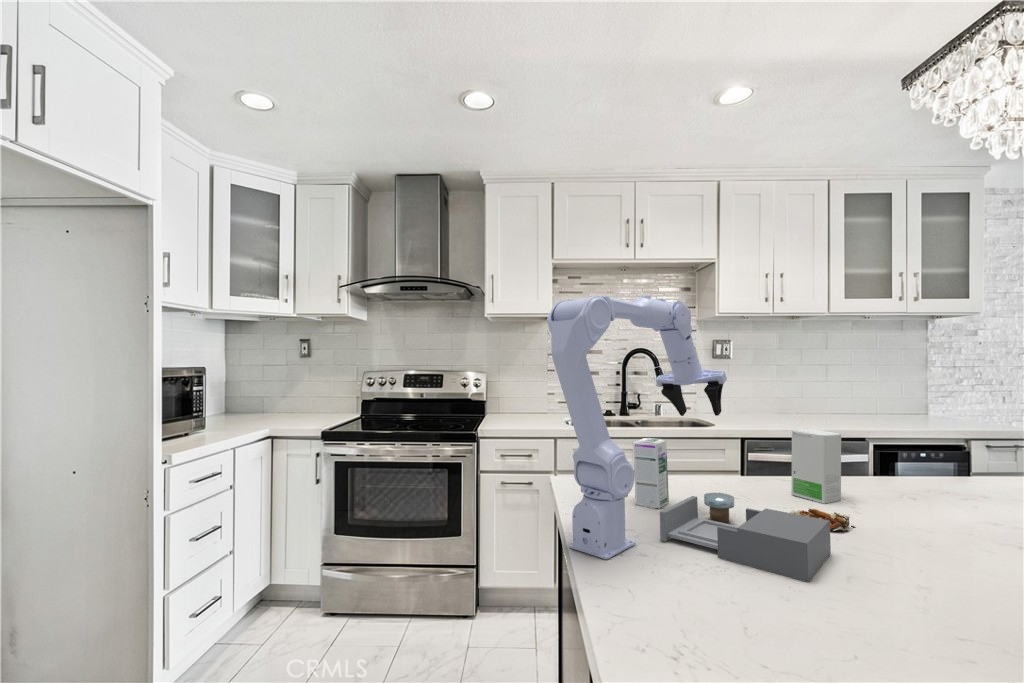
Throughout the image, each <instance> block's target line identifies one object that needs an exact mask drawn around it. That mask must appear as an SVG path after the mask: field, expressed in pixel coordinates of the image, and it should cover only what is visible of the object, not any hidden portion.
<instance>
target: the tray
mask: <svg viewBox="0 0 1024 683" xmlns="http://www.w3.org/2000/svg"><path fill="white" fill-rule="evenodd" d="M698 508H699V507H698V496H693V495H692V496H690V497H687V498H686V499H685V498H684V499H683V500H681V501H679V502H677V503H675V504H673V505H670V506H669V507H667V508H664V509H663V510H660V511H659V533H660V534H659V535H660V536H659V538H660V540H662V541H664V542H666V541H668V540H669V539H671V538H672V539H676V540H680V541H683V542H688V543H692V544H695V545H699V546H703V547H707V548H711V549H714V550H718V536H717V527H718V526H721V527H726V528H730V529H735V530H737V528H738V527H739V525H734V524H730V523H729V524H725V523H721V522H716V521H712V520H710V519H706V518H703V517H700V518H699V515H698V514H699V513H698V512H699V510H698Z"/></svg>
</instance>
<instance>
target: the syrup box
mask: <svg viewBox="0 0 1024 683" xmlns="http://www.w3.org/2000/svg"><path fill="white" fill-rule="evenodd" d="M632 445H633V464H634V465H633V466H634V467H633V470H634V494H635V495H634V496H635V505H636V506H639V505H641V506H640V507H643V506H646V507H645V508H649V507H652V508H651V509H655V508H658V510H661V508H663V507H665V506H666V505H667V503H668V504H669V502H670V500H669V475H668V474H669V473H668V452H667V451H668V450H667V449H668V447H667V440H666V439H664V438H663V439H662V438H656V437H655V438H654V437H652V438H650V437H646V438H644V437H643V438H641V439H639V440H635V441H633V444H632Z"/></svg>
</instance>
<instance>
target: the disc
mask: <svg viewBox="0 0 1024 683" xmlns="http://www.w3.org/2000/svg"><path fill="white" fill-rule="evenodd" d="M703 500H704V501H703V503H704V505H705V506H707V507H709V508H710V507H713V508H720V509H728V508H729V509H733V508H735V497H734V496H733V495H730V494H728V493H722V492H707V493H705V494H704V495H703Z"/></svg>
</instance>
